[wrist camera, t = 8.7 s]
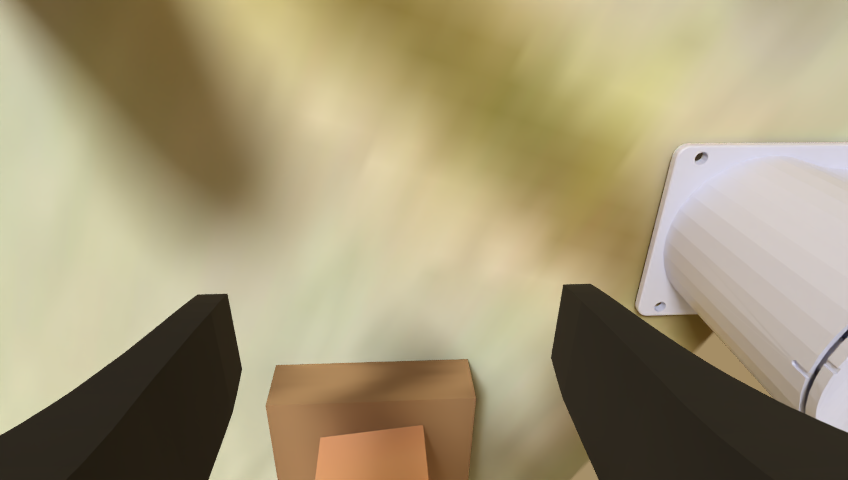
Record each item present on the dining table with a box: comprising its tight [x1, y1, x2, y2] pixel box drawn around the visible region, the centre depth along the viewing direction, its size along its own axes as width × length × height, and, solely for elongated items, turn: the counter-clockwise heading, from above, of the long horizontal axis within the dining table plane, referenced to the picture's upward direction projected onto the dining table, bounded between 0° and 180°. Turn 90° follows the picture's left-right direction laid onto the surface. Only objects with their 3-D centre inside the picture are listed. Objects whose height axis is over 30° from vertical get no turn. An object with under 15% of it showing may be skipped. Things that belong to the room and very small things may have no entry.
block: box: [266, 359, 476, 480], centre depth 26 cm, size 9×9×3 cm
